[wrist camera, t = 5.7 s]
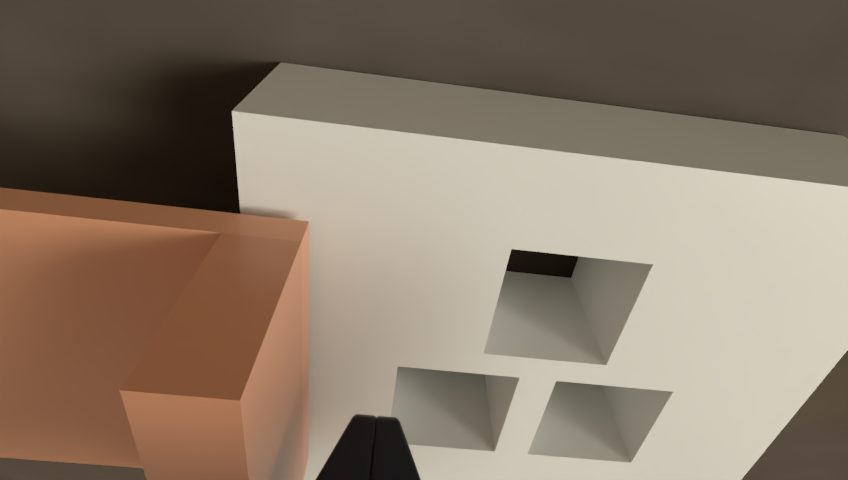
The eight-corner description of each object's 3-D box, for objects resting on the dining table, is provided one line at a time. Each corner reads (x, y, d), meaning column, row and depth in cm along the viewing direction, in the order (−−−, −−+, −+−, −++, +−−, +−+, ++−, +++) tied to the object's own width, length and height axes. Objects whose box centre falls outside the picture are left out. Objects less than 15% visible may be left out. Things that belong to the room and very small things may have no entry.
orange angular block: (308, 455, 12) (267, 645, 9) (11, 432, 11) (-143, 623, 8) (309, 221, 8) (240, 400, 5) (-120, 174, 8) (-475, 340, 5)
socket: (663, 427, 16) (706, 520, 14) (289, 394, 15) (263, 487, 13) (841, 135, 11) (970, 201, 8) (281, 62, 10) (231, 111, 7)
